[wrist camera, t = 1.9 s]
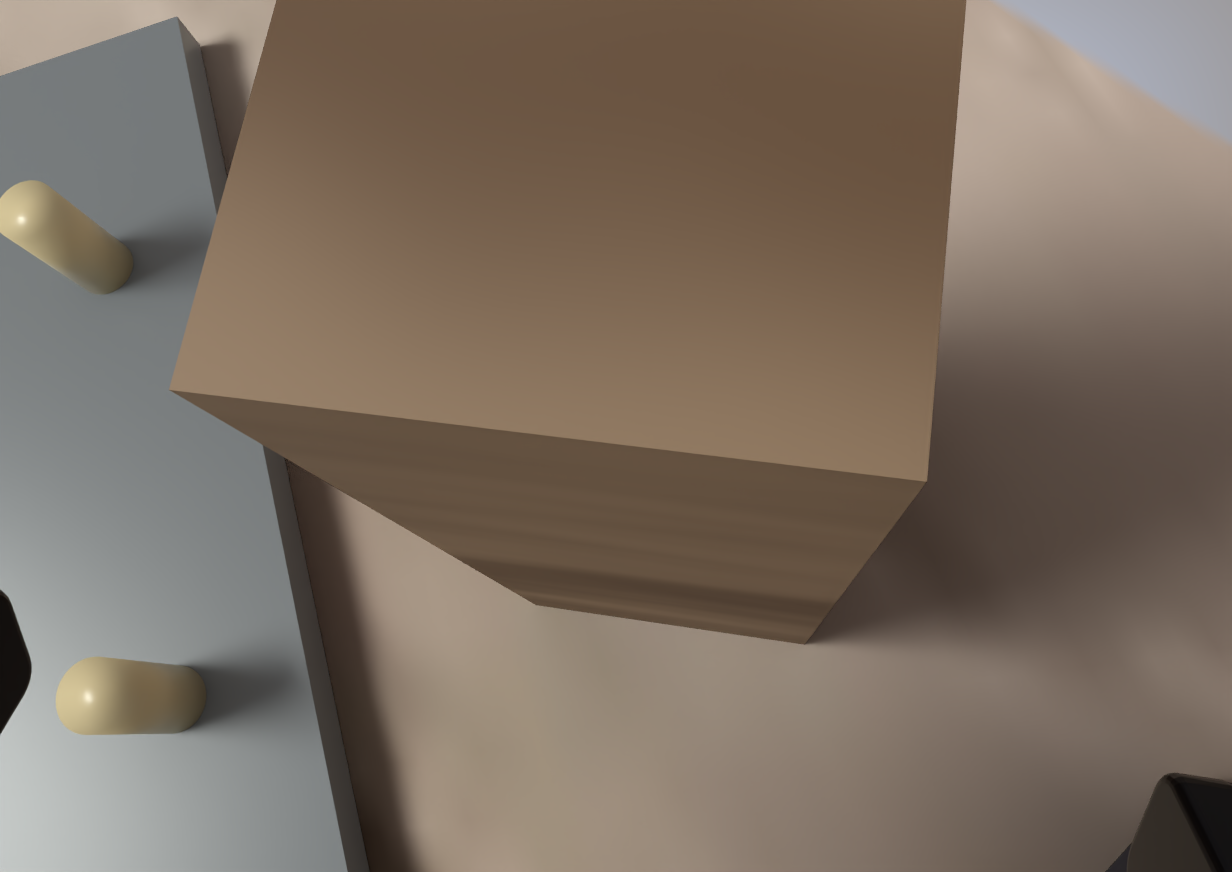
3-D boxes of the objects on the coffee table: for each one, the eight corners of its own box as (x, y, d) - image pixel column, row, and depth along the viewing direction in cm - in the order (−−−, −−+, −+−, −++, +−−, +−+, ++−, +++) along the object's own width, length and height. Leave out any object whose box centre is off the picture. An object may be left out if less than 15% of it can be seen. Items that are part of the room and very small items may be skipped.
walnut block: (804, 644, 19) (925, 480, 6) (535, 604, 19) (168, 390, 7) (832, 382, 20) (981, -186, 8) (579, 355, 21) (332, -203, 8)
